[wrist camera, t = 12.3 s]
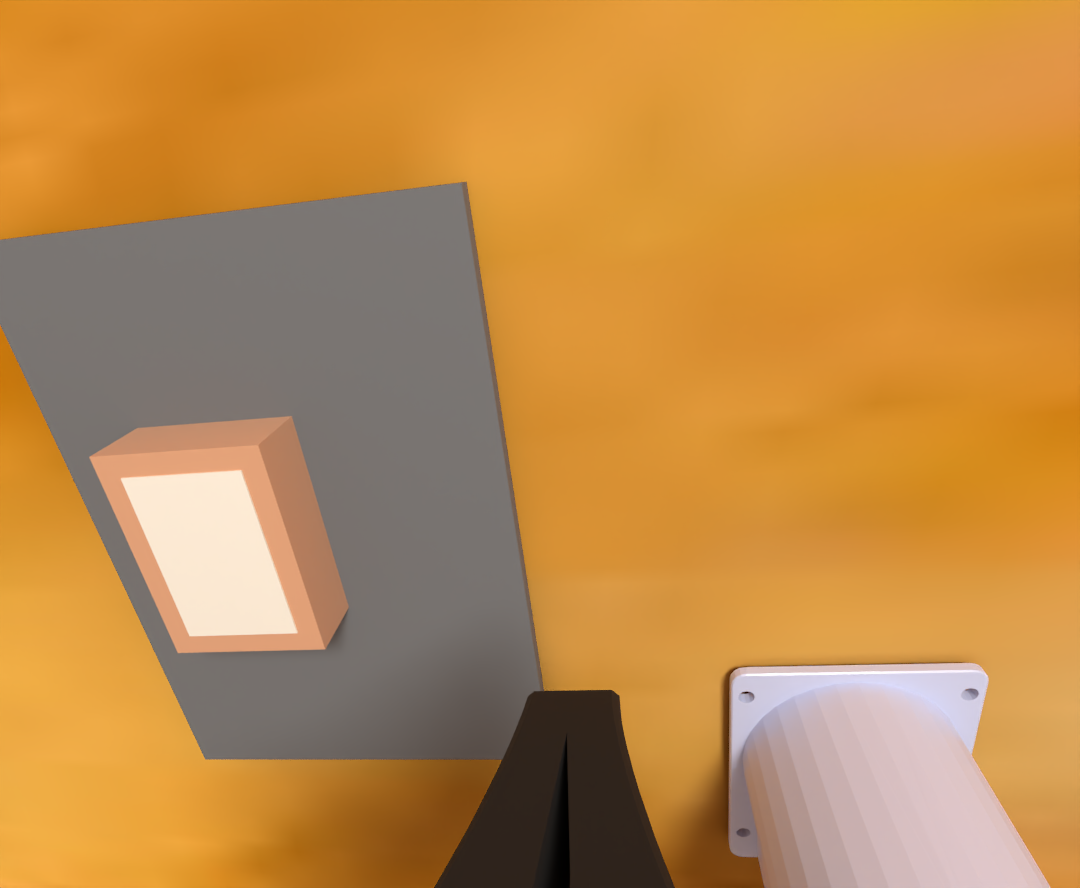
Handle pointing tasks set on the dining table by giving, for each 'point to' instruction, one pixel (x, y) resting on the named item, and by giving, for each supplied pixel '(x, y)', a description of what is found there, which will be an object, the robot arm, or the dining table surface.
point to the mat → (310, 450)
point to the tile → (226, 534)
